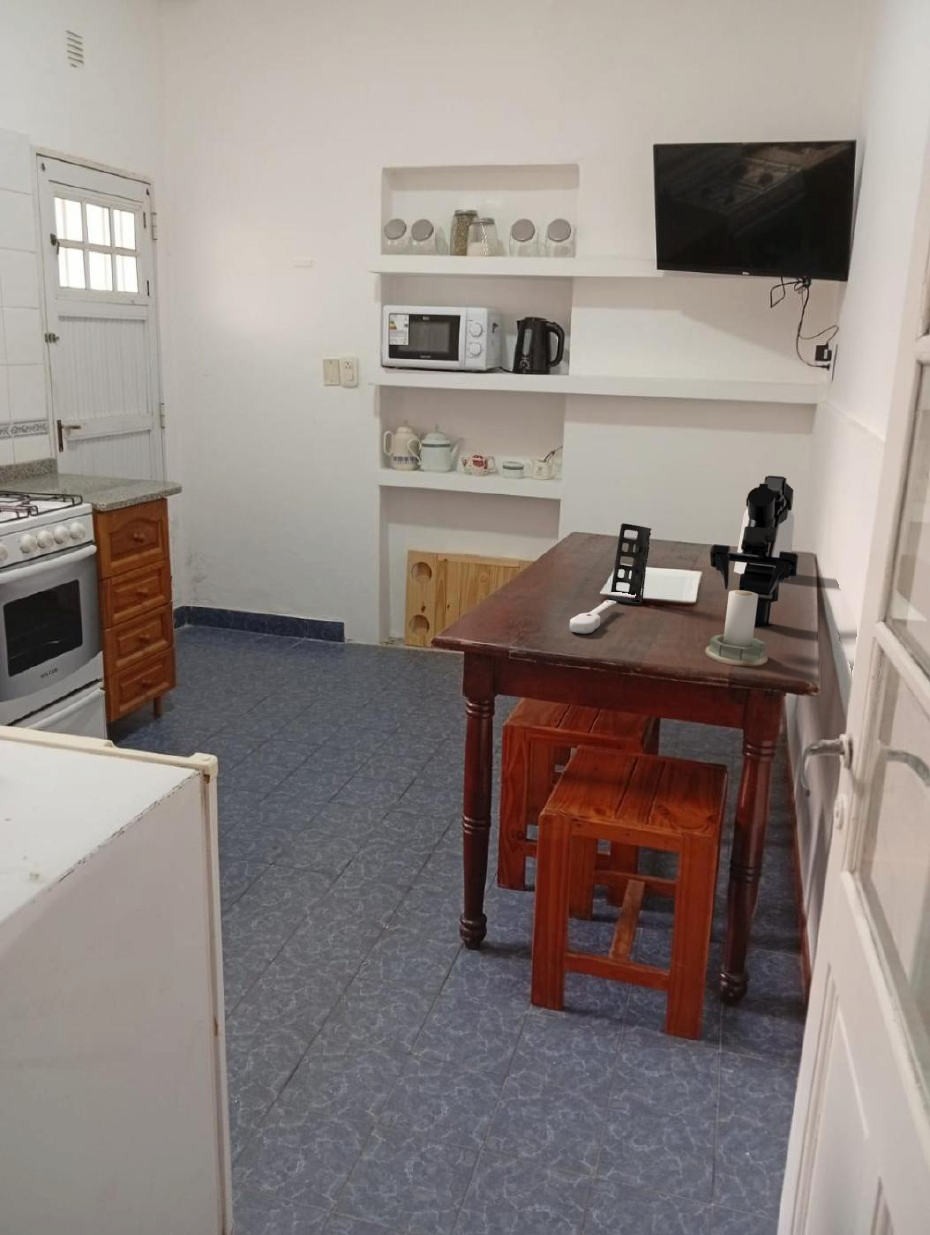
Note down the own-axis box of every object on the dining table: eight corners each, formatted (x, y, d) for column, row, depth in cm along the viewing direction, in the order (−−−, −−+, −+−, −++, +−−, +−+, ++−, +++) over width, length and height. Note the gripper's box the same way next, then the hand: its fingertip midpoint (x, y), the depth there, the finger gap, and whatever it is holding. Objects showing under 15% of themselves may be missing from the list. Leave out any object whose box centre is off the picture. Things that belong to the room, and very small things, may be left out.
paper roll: (732, 646, 217) (739, 588, 214) (756, 653, 213) (763, 594, 210) (716, 651, 213) (723, 591, 210) (740, 658, 209) (747, 597, 206)
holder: (600, 598, 261) (612, 522, 257) (616, 596, 266) (628, 523, 262) (636, 606, 253) (648, 529, 250) (652, 605, 259) (664, 529, 255)
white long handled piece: (600, 609, 251) (601, 598, 250) (622, 612, 248) (623, 601, 248) (564, 633, 226) (565, 620, 225) (588, 636, 223) (589, 624, 223)
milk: (766, 570, 309) (777, 487, 302) (789, 578, 298) (800, 492, 292) (733, 571, 305) (743, 487, 299) (755, 579, 295) (766, 492, 288)
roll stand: (746, 647, 221) (748, 632, 220) (779, 664, 209) (781, 648, 208) (694, 649, 218) (695, 634, 217) (724, 667, 206) (726, 651, 205)
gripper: (716, 508, 221) (702, 564, 214) (803, 516, 215) (792, 575, 207) (717, 538, 230) (704, 593, 223) (801, 547, 224) (791, 604, 216)
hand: (747, 591), depth 217 cm, fingers open, 9 cm apart
